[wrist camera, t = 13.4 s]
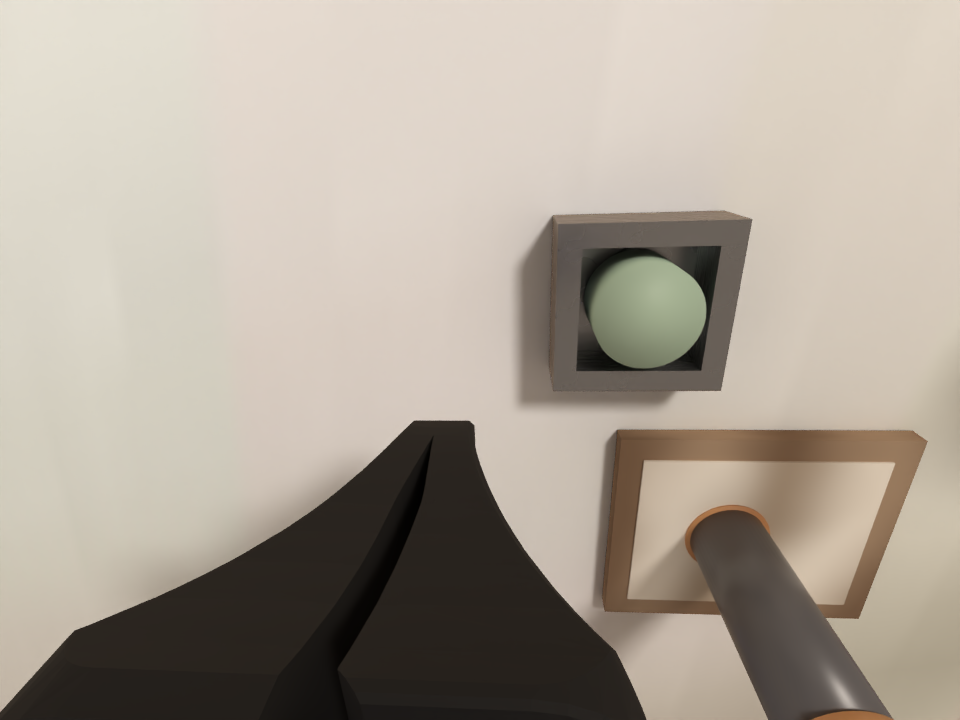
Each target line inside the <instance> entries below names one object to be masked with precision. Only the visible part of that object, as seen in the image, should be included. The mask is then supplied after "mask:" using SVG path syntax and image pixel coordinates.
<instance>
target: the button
mask: <svg viewBox="0 0 960 720" xmlns="http://www.w3.org/2000/svg"><path fill="white" fill-rule="evenodd" d="M584 308H585V312H586V316H587V318H588V320H589V322H590V325H591V327H592V329H593V332H594V334H595V336H596V338H597V340H598V343H599V345H600V346H601V348H602V349H603V350H604V352H605V353H606V354H607V355H608V356H609V357H611V358H612V359H613V360H615V361H617V362H618V363H621V364H623V365H625V366H629V367H633V368H654V367H659V366H662V365H665V364H668V363H670V362H672V361H674V360H676V359H678V358H679V357H681V356H682V355H683V354H685V353H686V352H687V351H688V350H689V349H690V348H691V347H692V346H693V345H694V343H695V342H696V340H697V339H698V338H699V336H700V334H701V332H702V329H703V327H704V324H705V319H706V302H705V297H704V294H703V292H702V290H701V288H700V286H699V285H698V283H697V282H696V281H695V280H694V279H693V278H692V277H691V276H690V275H689V274H688V273H686V272H685V271H683V270H682V269H681V268H679V267H678V266H676V265H675V264H674V263H672V262H671V261H669V260H668V259H667V258H665V257H664V256H662V255H660V254H658V253H656V252H653V251H649V250H642V249H635V250H628V251H623V252H621V253H618V254H616V255H614V256H611V257H610V258H608V259H607V260H605V261H604V262H603V263H602V264H601V265H600V266H599V267H598V268H597V269H596V270H595V271H594V273H593V274H592V275H591V277H590V279H589V281H588V283H587V286H586V289H585V294H584Z"/></svg>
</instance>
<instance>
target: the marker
mask: <svg viewBox="0 0 960 720" xmlns="http://www.w3.org/2000/svg"><path fill="white" fill-rule="evenodd" d="M690 546H691V549H692V551H693V553H694V556H695V558H696V560H697V562H698V564H699V567H700V569H701V571H702V573H703V576H704V578H705V580H706V582H707V584H708V587H709V589H710V591H711V593H712V596H713V598H714V600H715V602H716V604H717V607H718V609H719V611H720V613H721V616H722V618H723V620H724V622H725V624H726V627H727V629H728V631H729V633H730V636H731V638H732V640H733V642H734V644H735V647H736V649H737V651H738V653H739V656H740V658H741V660H742V662H743V664H744V667H745V669H746V671H747V673H748V676H749V678H750V680H751V682H752V684H753V687H754V689H755V691H756V693H757V696H758V698H759V700H760V702H761V704H762V707H763V709H764V711H765V713H766V716H767V718H768V720H893V718H892V717H891V715H890V714H889V712H888V711H887V709H886V708H885V706H884V705H883V703H882V702H881V700H880V699H879V697H878V696H877V694H876V693H875V691H874V690H873V688H872V687H871V685H870V684H869V682H868V681H867V679H866V678H865V676H864V675H863V673H862V672H861V670H860V669H859V667H858V666H857V664H856V663H855V661H854V660H853V658H852V657H851V655H850V654H849V652H848V651H847V649H846V648H845V646H844V645H843V643H842V642H841V640H840V639H839V637H838V636H837V634H836V633H835V631H834V630H833V629H832V627H831V626H830V624H829V623H828V621H827V620H826V618H825V617H824V615H823V614H822V612H821V611H820V609H819V608H818V606H817V605H816V603H815V602H814V600H813V599H812V597H811V596H810V594H809V593H808V591H807V590H806V588H805V587H804V585H803V584H802V582H801V581H800V579H799V578H798V576H797V575H796V573H795V572H794V570H793V569H792V567H791V566H790V564H789V563H788V561H787V560H786V558H785V557H784V555H783V554H782V552H781V551H780V549H779V548H778V546H777V545H776V543H775V542H774V540H773V539H772V537H771V536H770V534H769V533H768V531H767V530H766V528H765V527H764V525H763V524H762V522H761V521H760V520H759V519H758V518H757V517H756V516H754V515H752V514H750V513H748V512H745V511H740V510H726V511H720V512H717V513H714V514H712V515H709V516H708V517H706V518H704V519H703V520H702V521H701V522H699V523H698V524H697V526H696V527H695V528H694V530H693V532H692V534H691V538H690Z"/></svg>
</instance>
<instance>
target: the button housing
mask: <svg viewBox="0 0 960 720" xmlns="http://www.w3.org/2000/svg"><path fill="white" fill-rule="evenodd" d="M751 223H752V219H750V218H747V217H743V216H740V215H737V214H733V213H730V212H727V211H695V212H657V213H619V214H580V215H553V232H552V271H551V310H550V349H549V369H550V375H551V381H552V387H553V391H721V387H722V382H723V377H724V371H725V366H726V360H727V355H728V349H729V344H730V338H731V333H732V327H733V322H734V316H735V311H736V305H737V300H738V295H739V289H740V284H741V278H742V273H743V267H744V262H745V256H746V251H747V245H748V240H749V234H750V229H751ZM635 249H642V250H649V251H653V252H656V253H658V254H660V255H662V256H664V257H665V258H667V259H668V260H669V261H671V262H672V263H674V264H675V265H676V266H678V267H679V268H681V269H682V270H683V271H685V272H686V273H688V274H689V275H690V276H691V277H692V278H693V279H694V280H695V281H696V282H697V283H698V285H699V286H700V288H701V290H702V292H703V294H704V297H705V302H706V319H705V324H704V327H703V329H702V332H701V334H700V336H699V338H698V339H697V340H696V342H695V343H694V345H693V346H692V347H691V348H690V349H689V350H688V351H687V352H686V353H685V354H683V355H682V356H681V357H679V358H678V359H676V360H674V361H672V362H670V363H668V364H665V365H662V366H659V367H654V368H633V367H629V366H625V365H623V364H621V363H618V362H617V361H615V360H613V359H612V358H611V357H609V356H608V355H607V354H606V353H605V352H604V350H603V349H602V348H601V346H600V345H599V343H598V340H597V338H596V336H595V334H594V332H593V329H592V327H591V325H590V322H589V320H588V318H587V316H586V312H585V308H584V294H585V289H586V286H587V283H588V281H589V279H590V277H591V275H592V274H593V273H594V271H595V270H596V269H597V268H598V267H599V266H600V265H601V264H602V263H603V262H604V261H605V260H607V259H608V258H610V257H611V256H614V255H616V254H618V253H621V252H623V251H628V250H635Z"/></svg>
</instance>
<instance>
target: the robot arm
mask: <svg viewBox="0 0 960 720" xmlns="http://www.w3.org/2000/svg"><path fill="white" fill-rule="evenodd" d="M0 720H646V717H645V714H644V712H643V709H642V707H641V704H640V702H639V700H638V697H637V695H636V693H635V691H634V688H633V686H632V684H631V682H630V680H629V678H628V675H627V673H626V671H625V669H624V667H623V665H622V663H621V661H620V659H619V657H618V655H617V653H616V651H615V650H614V649H613V648H612V647H611V646H609V645H608V644H607V643H606V642H605V641H604V640H603V639H602V638H601V637H600V636H599V635H598V634H597V633H596V632H595V631H594V630H593V629H592V628H591V627H590V626H589V625H588V624H587V623H586V622H585V621H584V620H583V619H582V618H581V617H580V616H579V615H578V614H577V613H576V612H575V611H574V610H573V609H572V607H571V606H570V605H569V604H568V603H567V602H566V601H565V600H564V599H563V597H562V596H561V595H560V594H559V593H558V592H557V591H556V590H555V588H554V587H553V586H552V585H551V583H550V582H549V581H548V580H547V578H546V577H545V576H544V575H543V573H542V572H541V571H540V569H539V568H538V567H537V566H536V564H535V563H534V562H533V560H532V559H531V558H530V557H529V555H528V554H527V553H526V551H525V550H524V548H523V547H522V545H521V544H520V542H519V541H518V539H517V538H516V536H515V535H514V533H513V531H512V530H511V528H510V526H509V525H508V523H507V521H506V520H505V518H504V516H503V514H502V513H501V511H500V509H499V507H498V505H497V503H496V501H495V499H494V497H493V495H492V492H491V490H490V488H489V486H488V484H487V481H486V479H485V476H484V473H483V471H482V468H481V465H480V462H479V459H478V456H477V452H476V448H475V430H474V425H473V424H472V423H471V422H470V421H413V422H412V423H411V424H410V425H409V426H408V427H407V428H406V429H405V430H404V431H403V432H402V433H401V434H400V435H399V436H398V437H397V438H396V439H395V440H394V441H393V442H392V443H391V444H390V445H389V446H388V447H387V448H386V449H385V450H384V451H383V452H381V453H380V454H379V455H378V456H377V457H376V458H375V459H374V460H373V461H372V462H371V463H370V464H369V465H368V466H367V467H366V468H364V469H363V470H362V471H361V472H360V473H359V474H358V475H356V476H355V477H354V478H353V479H352V480H350V481H349V482H348V483H347V484H346V485H345V486H343V487H342V488H341V489H340V490H339V491H337V492H336V493H335V494H334V495H333V496H331V497H330V498H329V499H327V500H326V501H325V502H323V503H322V504H321V505H319V506H318V507H317V508H315V509H314V510H312V511H311V512H310V513H308V514H307V515H305V516H304V517H302V518H301V519H299V520H298V521H297V522H295V523H294V524H292V525H291V526H289V527H287V528H286V529H284V530H283V531H281V532H279V533H278V534H276V535H274V536H273V537H271V538H269V539H268V540H266V541H264V542H263V543H261V544H259V545H257V546H256V547H254V548H252V549H251V550H249V551H247V552H246V553H244V554H242V555H241V556H239V557H237V558H235V559H233V560H231V561H230V562H228V563H226V564H224V565H222V566H220V567H218V568H216V569H214V570H212V571H210V572H208V573H206V574H204V575H202V576H200V577H198V578H196V579H194V580H192V581H190V582H188V583H186V584H184V585H182V586H180V587H178V588H175V589H173V590H171V591H169V592H167V593H164V594H162V595H160V596H158V597H156V598H153V599H151V600H148V601H146V602H144V603H141V604H139V605H136V606H134V607H132V608H129V609H127V610H124V611H122V612H120V613H117V614H115V615H112V616H110V617H108V618H105V619H103V620H100V621H98V622H96V623H93V624H91V625H88V626H85V627H83V628H80V629H78V630H75V631H74V632H73V633H72V634H71V635H70V636H69V637H68V638H67V639H66V640H65V641H64V642H63V644H62V645H61V646H60V647H59V648H58V649H57V650H56V651H55V652H54V654H53V655H52V656H51V657H50V658H49V659H48V660H47V661H46V662H45V663H44V665H43V666H42V667H41V668H40V669H39V670H38V671H37V672H36V673H35V675H34V676H33V677H32V678H31V679H30V680H29V681H28V682H27V683H26V684H25V686H24V687H23V688H22V689H21V690H20V691H19V692H18V693H17V694H16V696H15V697H14V698H13V699H12V700H11V701H10V702H9V703H8V704H7V705H6V707H5V708H4V709H3V710H2V711H1V712H0Z"/></svg>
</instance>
